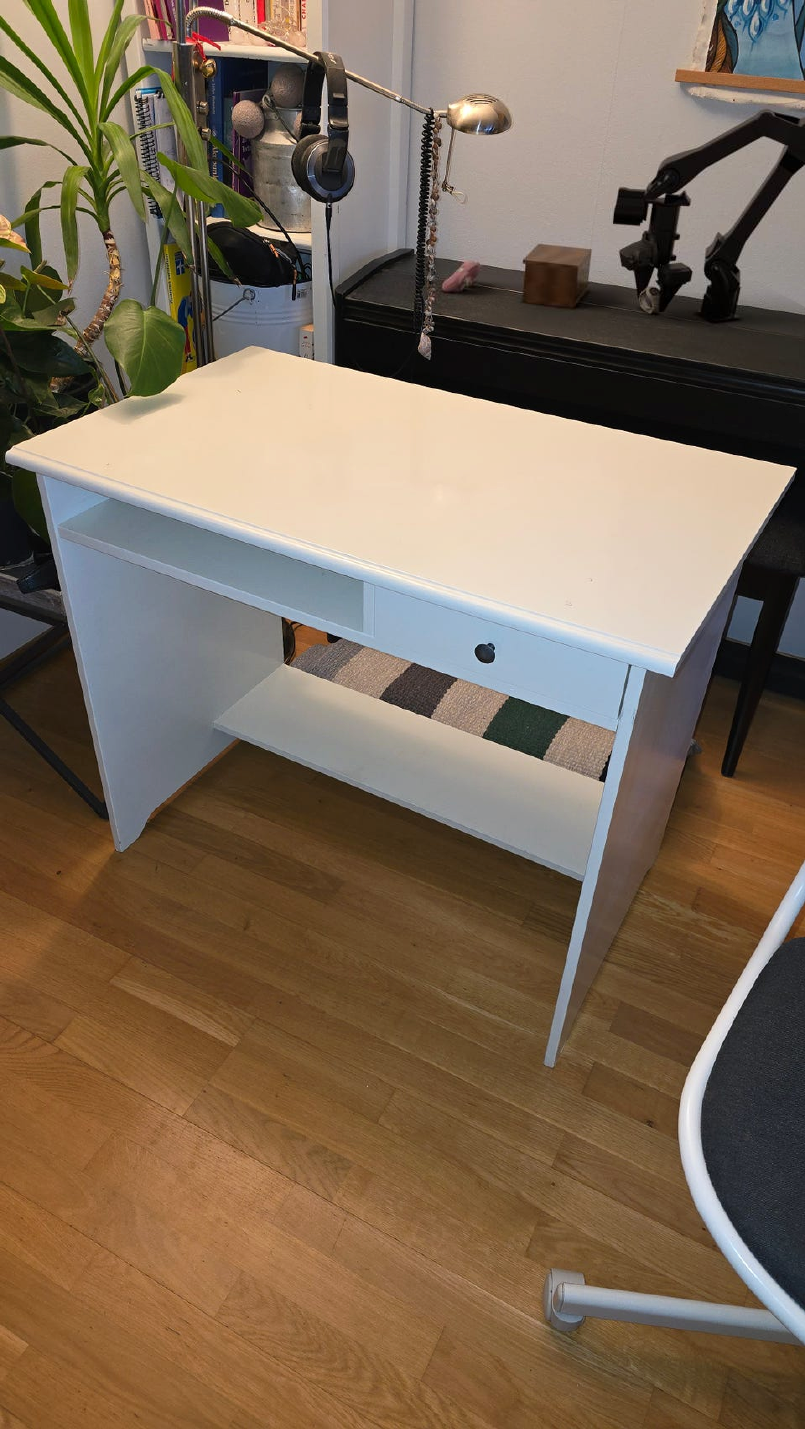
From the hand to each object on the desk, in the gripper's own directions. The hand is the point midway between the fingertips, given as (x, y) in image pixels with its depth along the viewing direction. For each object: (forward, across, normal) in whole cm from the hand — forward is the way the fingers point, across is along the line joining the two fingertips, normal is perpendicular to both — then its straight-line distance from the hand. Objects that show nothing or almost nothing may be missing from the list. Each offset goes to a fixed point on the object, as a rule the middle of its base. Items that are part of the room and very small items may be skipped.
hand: (650, 305), depth 213 cm
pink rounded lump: (+1, -27, -33) cm, 43 cm away
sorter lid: (-7, -15, -16) cm, 23 cm away
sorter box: (+1, -15, -16) cm, 22 cm away
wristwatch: (+1, 0, 0) cm, 1 cm away
